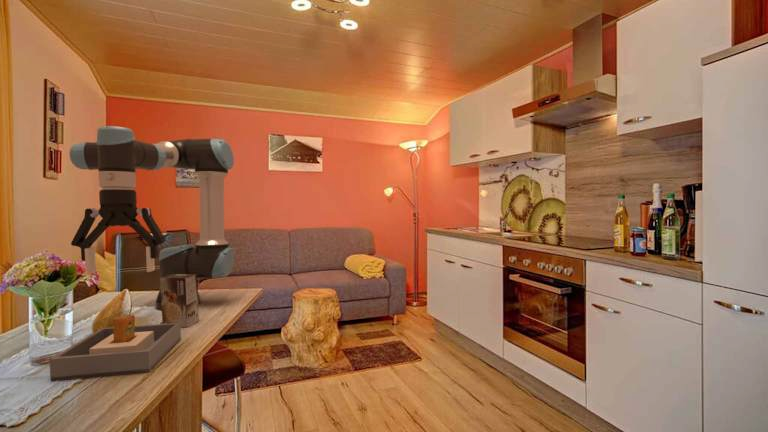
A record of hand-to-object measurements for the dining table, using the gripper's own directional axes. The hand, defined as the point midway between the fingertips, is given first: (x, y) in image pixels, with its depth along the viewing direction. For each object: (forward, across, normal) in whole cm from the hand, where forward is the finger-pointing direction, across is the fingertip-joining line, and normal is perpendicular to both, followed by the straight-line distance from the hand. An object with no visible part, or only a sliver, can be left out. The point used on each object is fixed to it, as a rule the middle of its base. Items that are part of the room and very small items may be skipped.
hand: (121, 272), depth 90 cm
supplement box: (+22, 0, 0) cm, 22 cm away
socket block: (+22, 0, 0) cm, 22 cm away
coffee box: (+22, +5, +25) cm, 34 cm away
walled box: (+22, 0, 0) cm, 22 cm away
